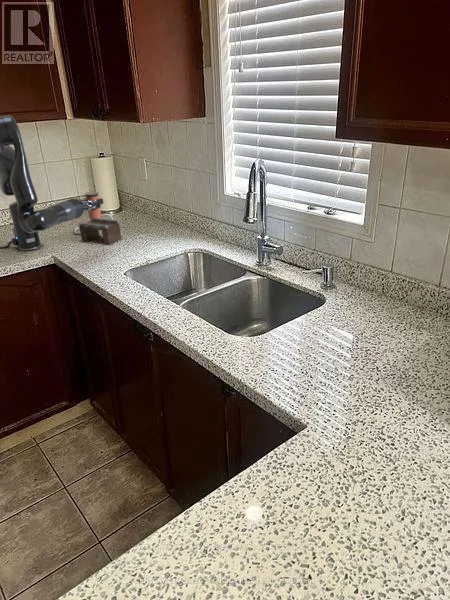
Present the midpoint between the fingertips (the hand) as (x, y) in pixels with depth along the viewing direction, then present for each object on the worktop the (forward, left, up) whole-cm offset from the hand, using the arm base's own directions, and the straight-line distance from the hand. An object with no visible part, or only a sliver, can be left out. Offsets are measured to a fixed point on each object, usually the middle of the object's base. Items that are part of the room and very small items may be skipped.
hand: (96, 200), depth 186 cm
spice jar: (0, -3, -6) cm, 7 cm away
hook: (-26, +23, -22) cm, 41 cm away
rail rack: (-11, +11, -22) cm, 27 cm away
